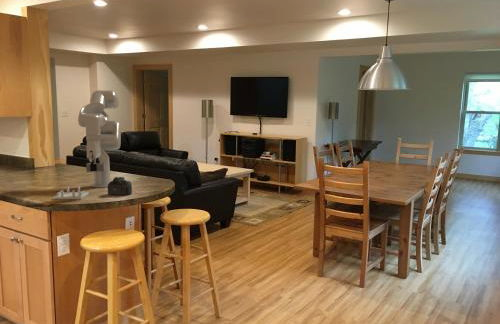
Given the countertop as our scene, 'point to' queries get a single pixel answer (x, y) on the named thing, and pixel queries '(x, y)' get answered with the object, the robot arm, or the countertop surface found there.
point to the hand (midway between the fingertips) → (95, 169)
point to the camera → (120, 186)
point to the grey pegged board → (70, 194)
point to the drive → (98, 165)
